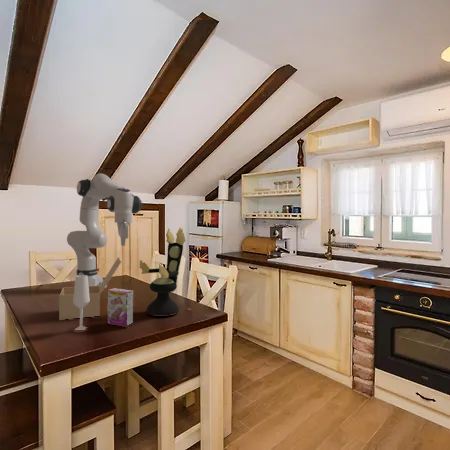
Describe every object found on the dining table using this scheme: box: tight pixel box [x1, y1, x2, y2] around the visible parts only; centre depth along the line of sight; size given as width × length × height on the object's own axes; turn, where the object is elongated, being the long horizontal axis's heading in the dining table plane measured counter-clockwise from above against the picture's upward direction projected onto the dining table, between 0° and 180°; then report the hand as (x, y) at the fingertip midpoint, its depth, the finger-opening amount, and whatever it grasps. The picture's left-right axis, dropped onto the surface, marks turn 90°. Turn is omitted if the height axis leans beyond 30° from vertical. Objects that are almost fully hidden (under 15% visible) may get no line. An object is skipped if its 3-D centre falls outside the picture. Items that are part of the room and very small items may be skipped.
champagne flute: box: [73, 275, 90, 330], centre depth 140 cm, size 7×7×24 cm
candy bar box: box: [106, 287, 134, 326], centre depth 148 cm, size 11×5×16 cm, turn 71°
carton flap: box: [100, 256, 122, 294], centre depth 167 cm, size 18×16×1 cm
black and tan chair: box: [139, 226, 186, 316], centre depth 168 cm, size 19×22×45 cm
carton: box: [58, 286, 101, 321], centre depth 162 cm, size 18×16×12 cm
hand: (123, 245), depth 169 cm, fingers closed
